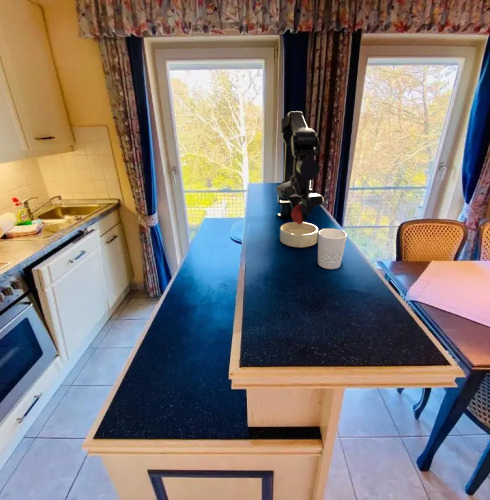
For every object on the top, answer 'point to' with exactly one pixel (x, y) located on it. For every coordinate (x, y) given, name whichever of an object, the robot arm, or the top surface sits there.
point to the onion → (297, 214)
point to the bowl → (298, 234)
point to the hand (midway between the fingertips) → (299, 218)
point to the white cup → (331, 248)
